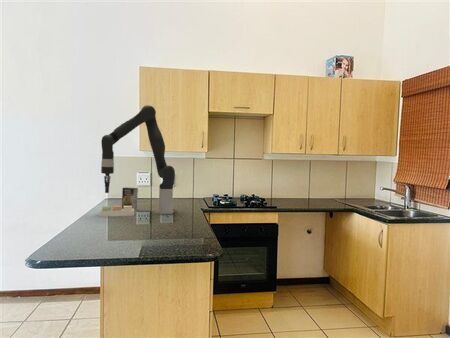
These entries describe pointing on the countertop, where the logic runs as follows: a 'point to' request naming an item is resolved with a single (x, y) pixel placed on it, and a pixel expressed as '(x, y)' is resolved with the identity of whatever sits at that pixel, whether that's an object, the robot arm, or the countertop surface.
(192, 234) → the countertop surface
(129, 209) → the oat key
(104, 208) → the sage key
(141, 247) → the countertop surface
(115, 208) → the terracotta key
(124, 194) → the coffee box
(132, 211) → the cream flat tray
